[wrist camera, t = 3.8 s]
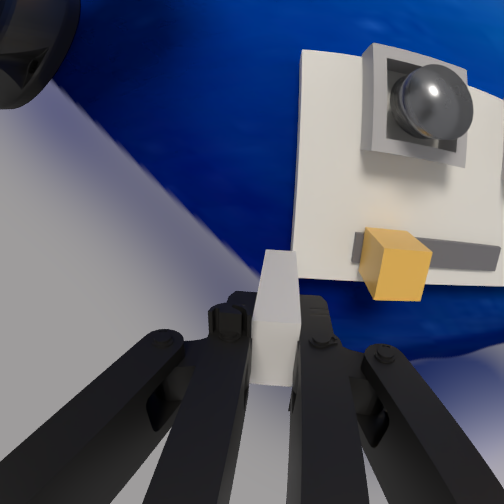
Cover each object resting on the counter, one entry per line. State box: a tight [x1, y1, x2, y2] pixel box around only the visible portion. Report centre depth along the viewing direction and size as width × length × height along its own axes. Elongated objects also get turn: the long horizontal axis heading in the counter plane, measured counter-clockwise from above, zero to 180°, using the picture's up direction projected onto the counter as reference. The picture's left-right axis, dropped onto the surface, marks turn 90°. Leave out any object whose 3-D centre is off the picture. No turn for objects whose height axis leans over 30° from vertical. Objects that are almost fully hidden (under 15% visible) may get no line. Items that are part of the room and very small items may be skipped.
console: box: [290, 43, 504, 286], centre depth 17 cm, size 24×15×6 cm, turn 88°
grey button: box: [390, 64, 473, 140], centre depth 12 cm, size 4×4×3 cm
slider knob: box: [358, 227, 433, 301], centre depth 17 cm, size 3×3×4 cm
